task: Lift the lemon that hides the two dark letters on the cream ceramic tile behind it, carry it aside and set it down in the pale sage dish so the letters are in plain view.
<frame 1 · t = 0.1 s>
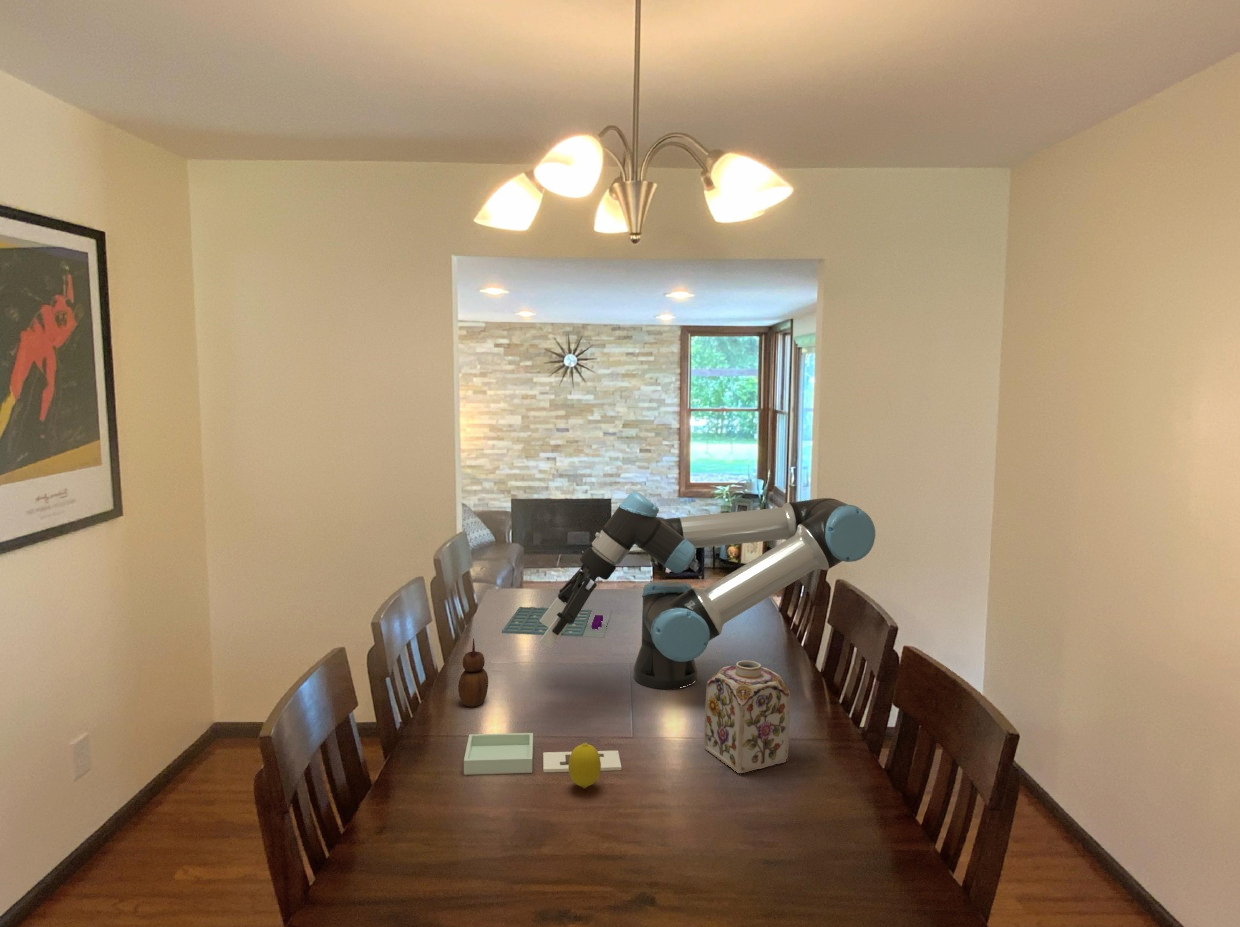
hand: (544, 634, 167), 15 cm above the table, tool tilted 35°, fingers open, 13 cm apart
wooden figurine: (473, 704, 168), on the table
lemon: (584, 789, 133), on the table
decorative jar: (745, 757, 146), on the table
dish: (499, 759, 143), on the table
tile: (581, 762, 142), on the table
calendar: (559, 623, 228), on the table
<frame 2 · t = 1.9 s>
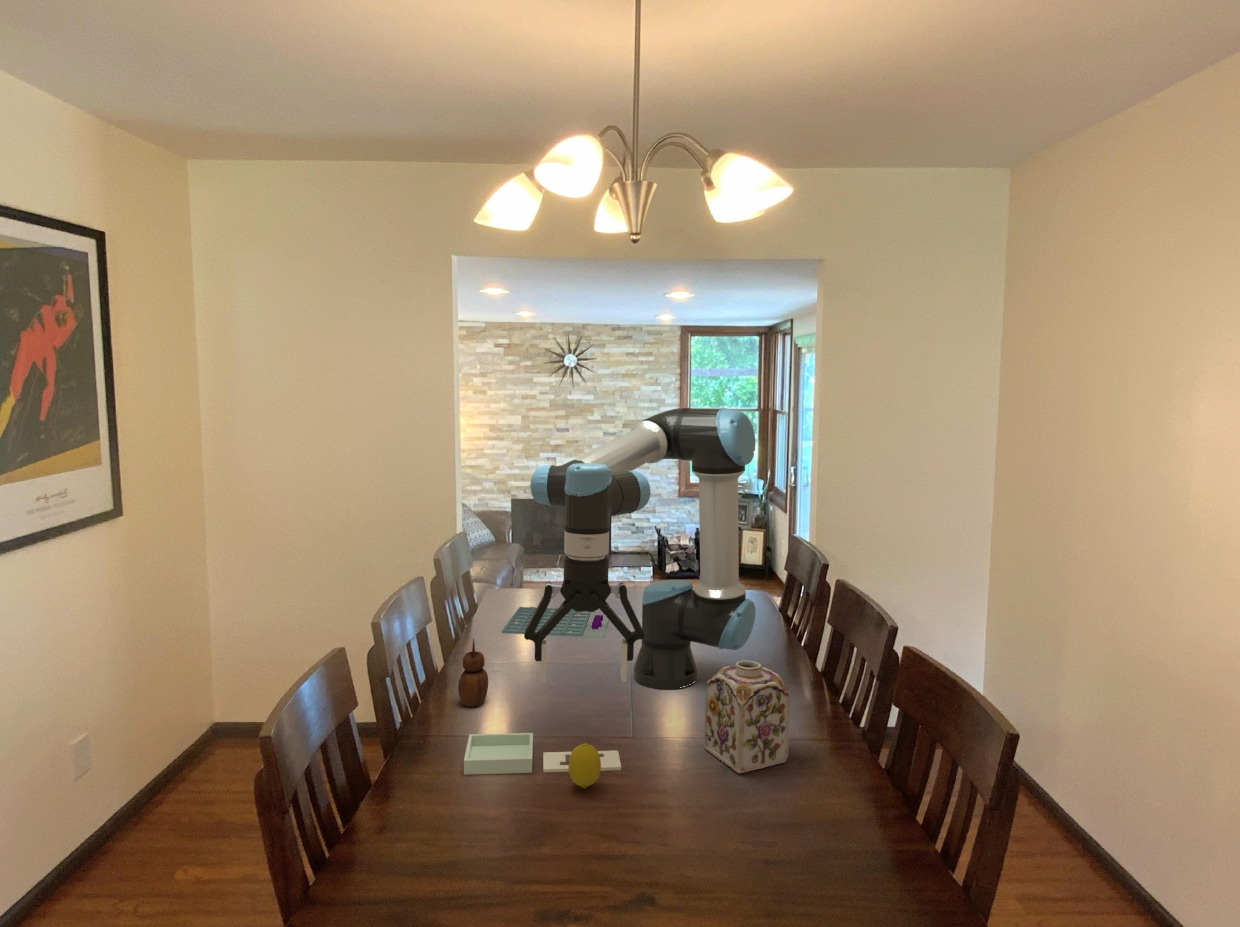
hand: (583, 679, 132), 19 cm above the table, tool pointing down, fingers open, 13 cm apart
nothing on the table moved.
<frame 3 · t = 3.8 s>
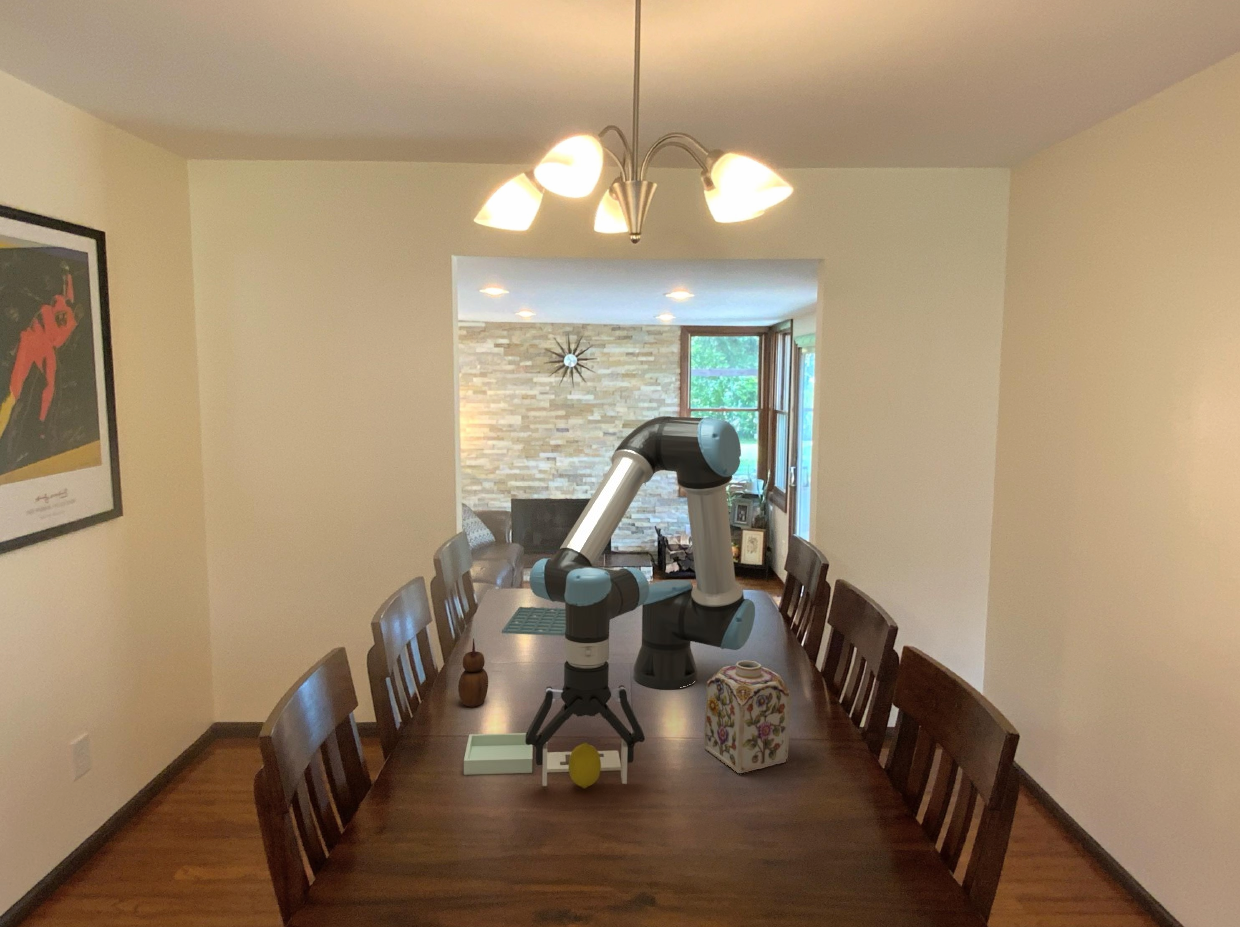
hand: (584, 781, 133), 1 cm above the table, tool pointing down, fingers open, 13 cm apart
nothing on the table moved.
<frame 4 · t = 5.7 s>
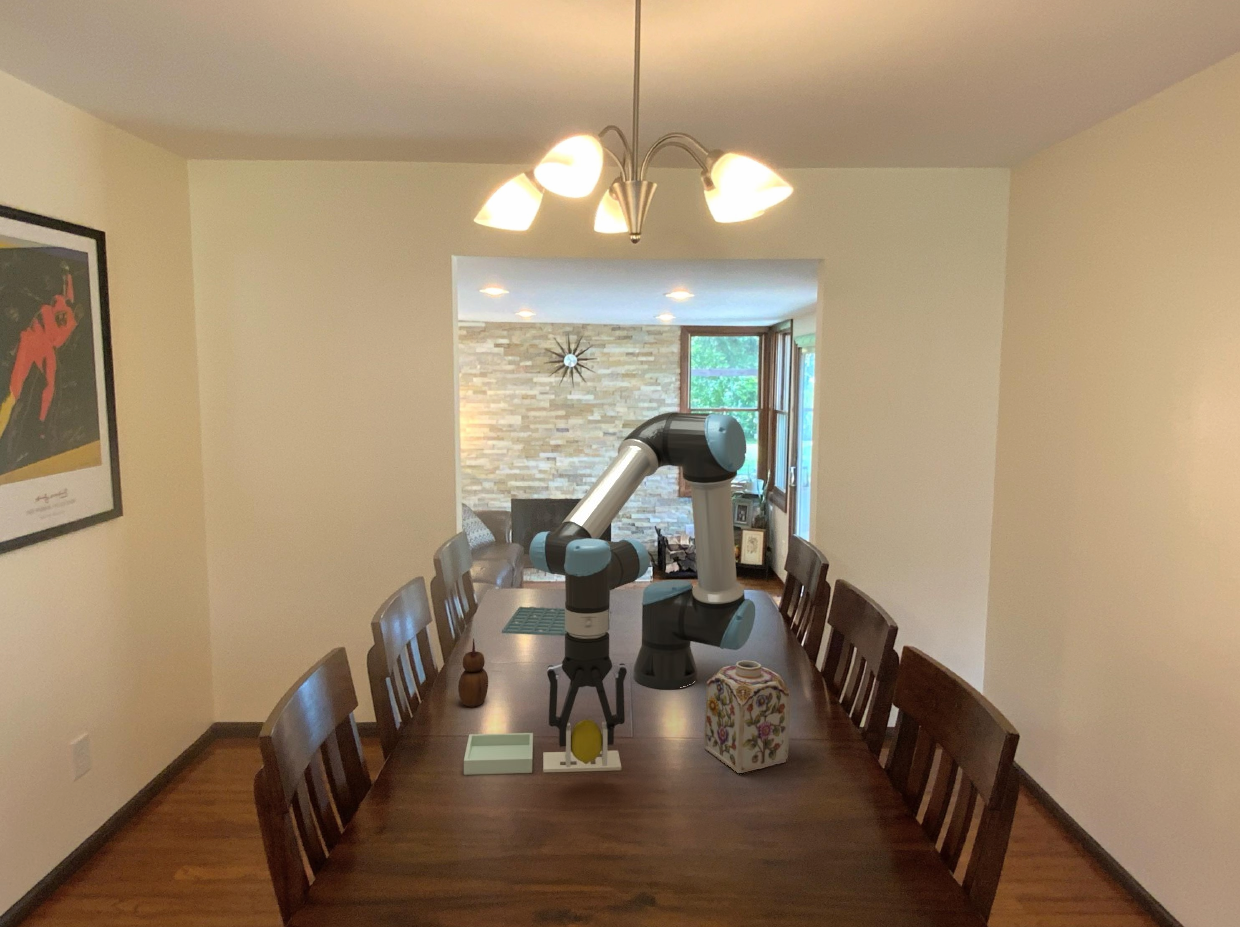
hand: (586, 762, 133), 4 cm above the table, tool pointing down, fingers closed on lemon, 5 cm apart
lemon: (586, 764, 133), point 4 cm above the table, touching gripper
everything else where it was.
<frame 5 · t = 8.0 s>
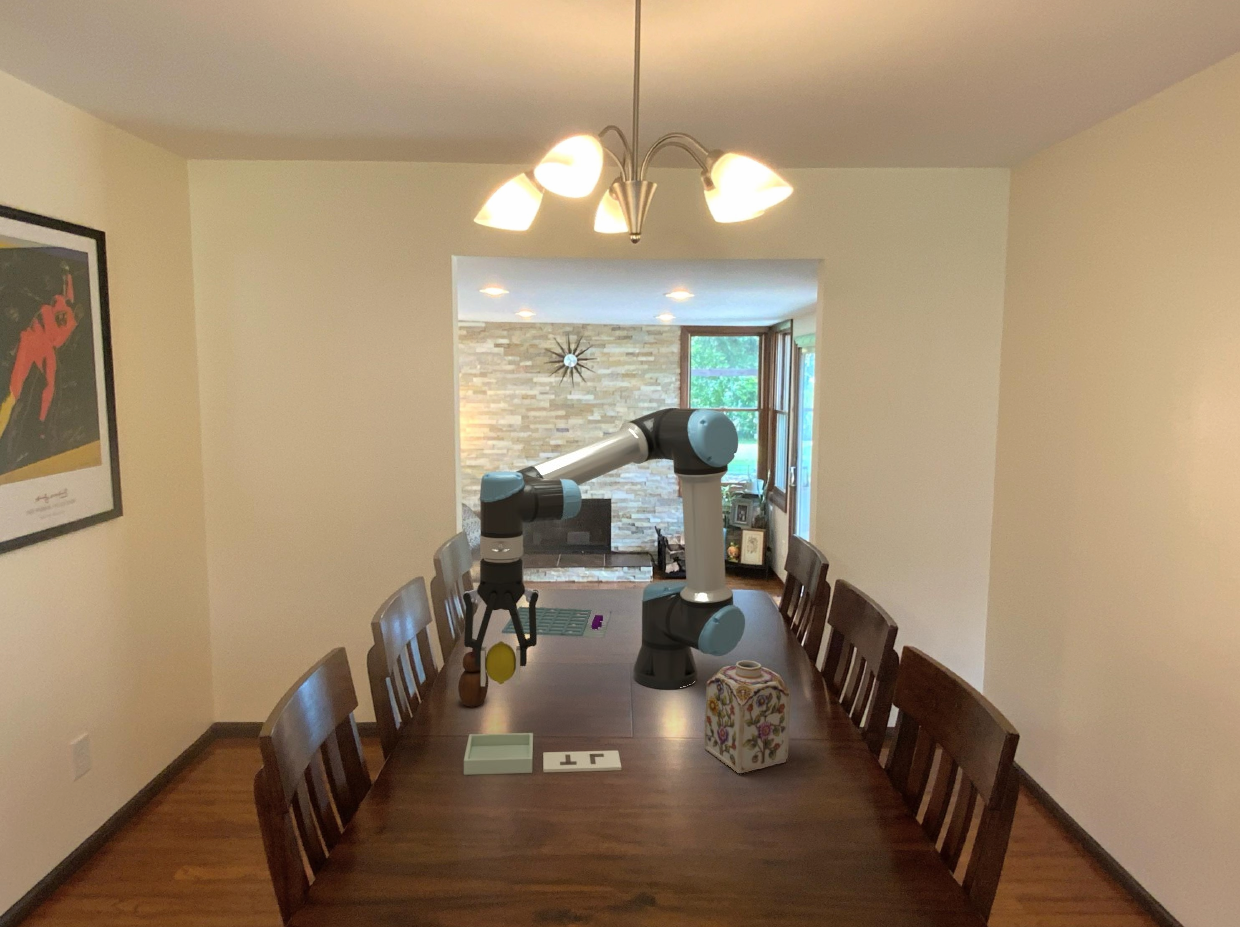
hand: (500, 682, 141), 15 cm above the table, tool pointing down, fingers closed on lemon, 5 cm apart
lemon: (500, 685, 141), point 14 cm above the table, touching gripper
everything else where it was.
when the fingers open (3 cm above the table, at t = 10.8 s): lemon drops 2 cm, resting on dish.
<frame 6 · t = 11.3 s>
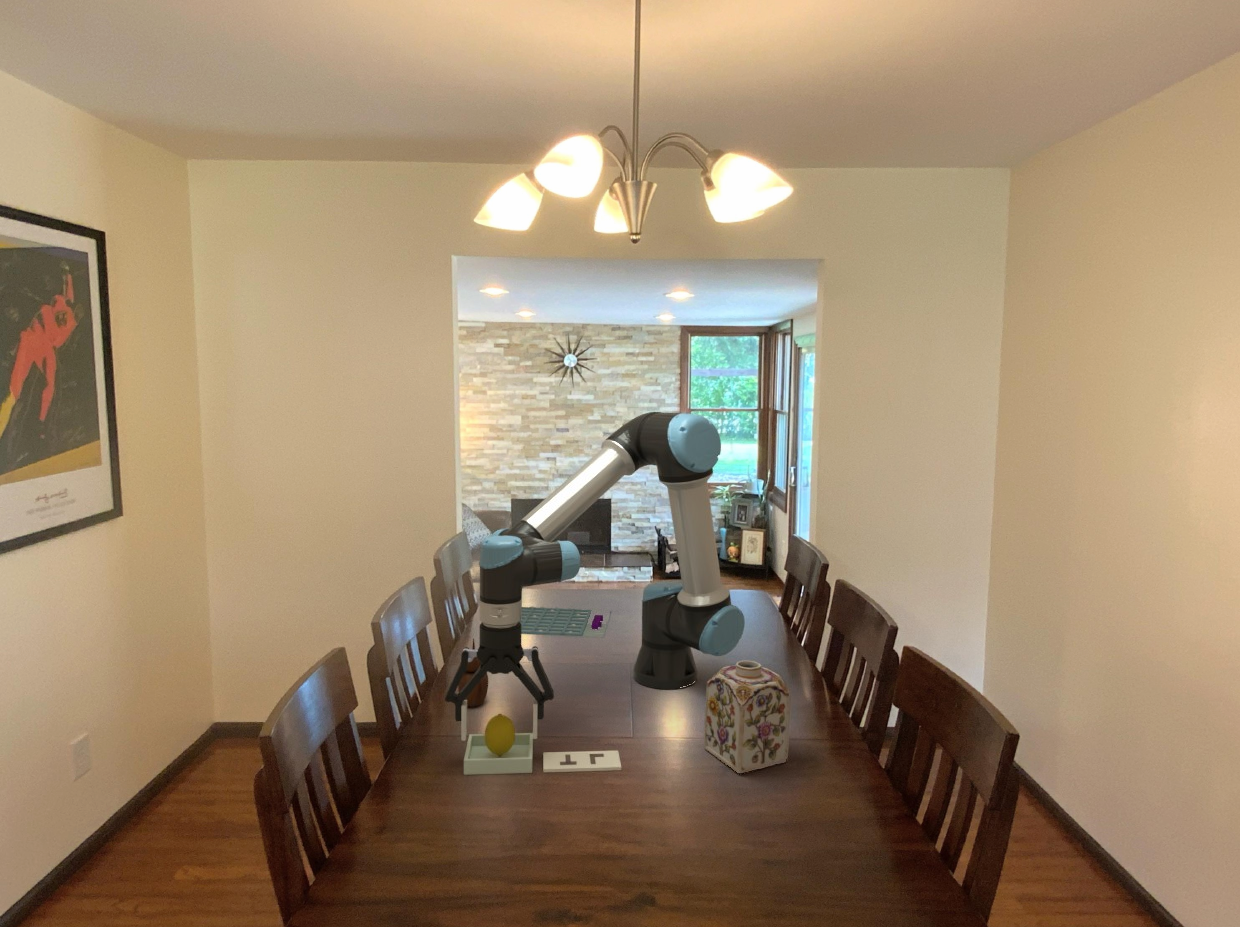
hand: (499, 736, 142), 4 cm above the table, tool pointing down, fingers open, 12 cm apart
lemon: (499, 757, 143), resting on dish
everything else where it was.
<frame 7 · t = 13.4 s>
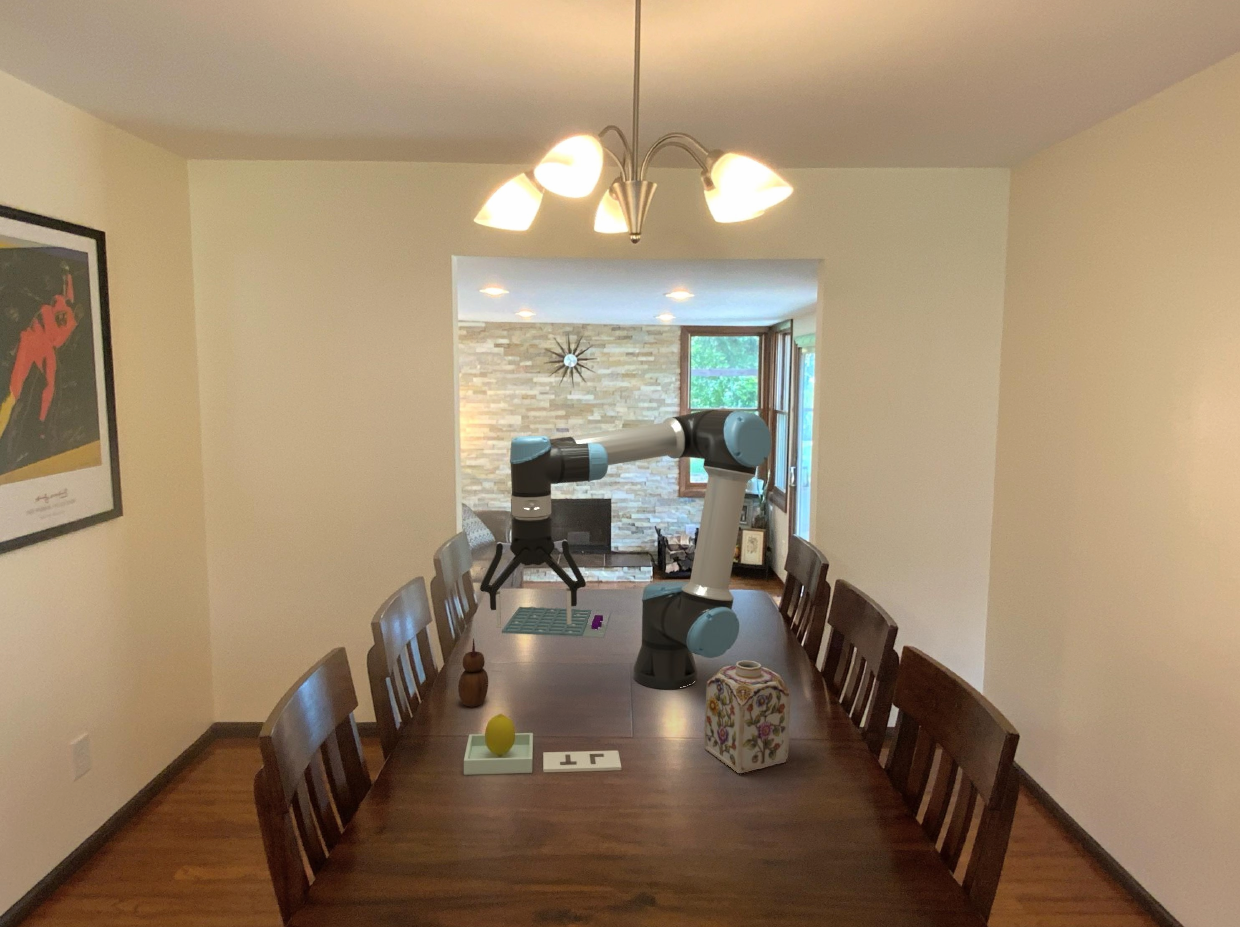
hand: (534, 624, 151), 22 cm above the table, tool pointing down, fingers open, 13 cm apart
nothing on the table moved.
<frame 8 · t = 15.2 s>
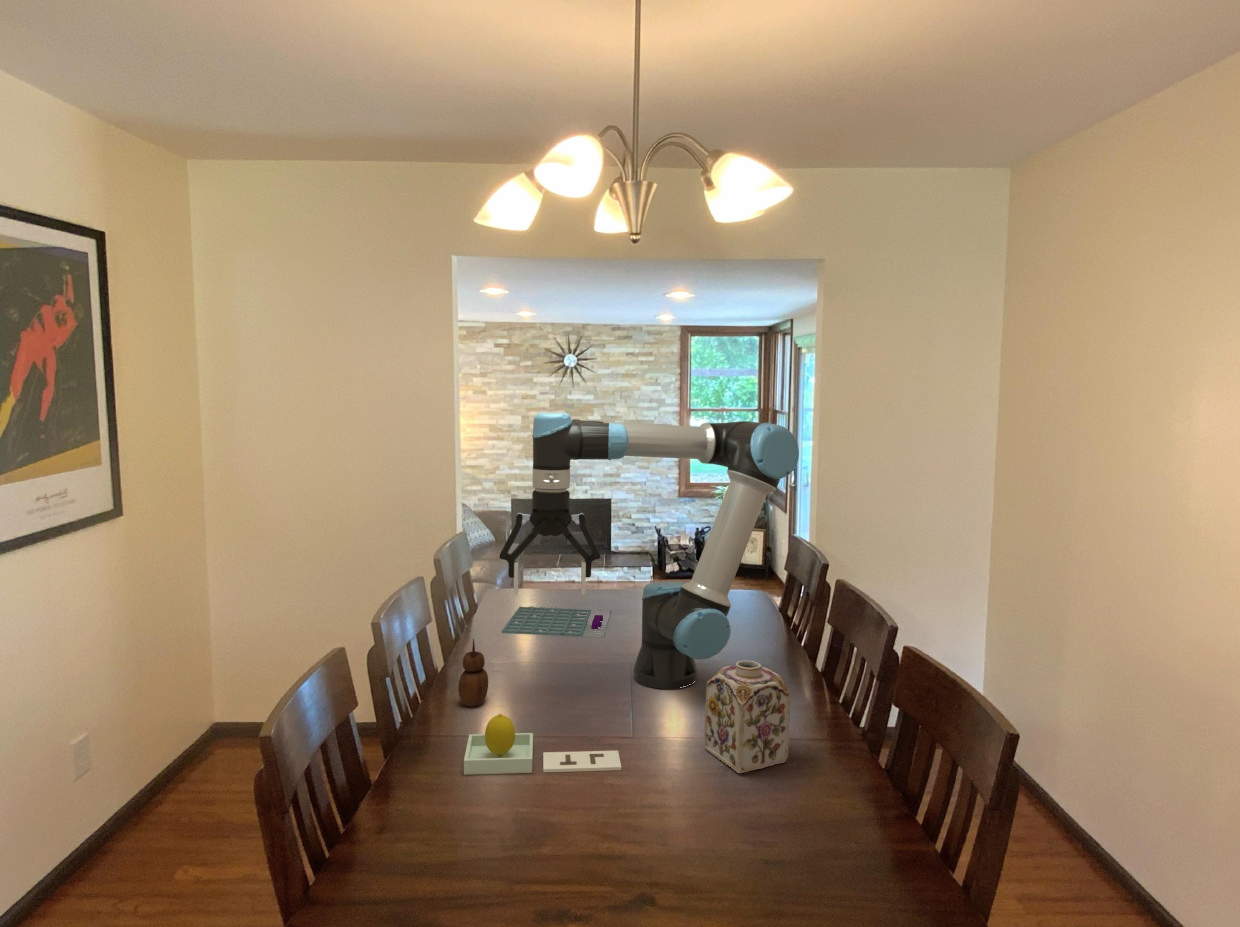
hand: (549, 593, 158), 27 cm above the table, tool pointing down, fingers open, 13 cm apart
nothing on the table moved.
at the end: lemon 0.2 cm from the dish (horizontally); lemon resting on dish; the gripper is holding nothing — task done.
